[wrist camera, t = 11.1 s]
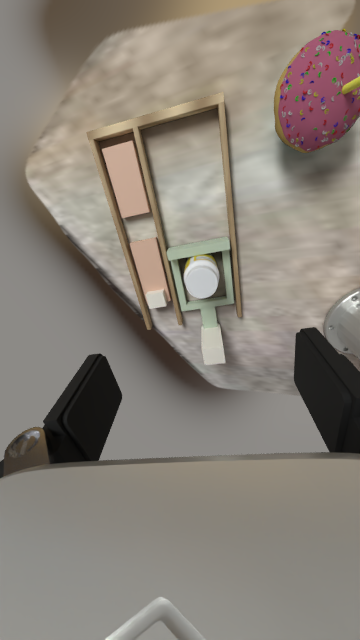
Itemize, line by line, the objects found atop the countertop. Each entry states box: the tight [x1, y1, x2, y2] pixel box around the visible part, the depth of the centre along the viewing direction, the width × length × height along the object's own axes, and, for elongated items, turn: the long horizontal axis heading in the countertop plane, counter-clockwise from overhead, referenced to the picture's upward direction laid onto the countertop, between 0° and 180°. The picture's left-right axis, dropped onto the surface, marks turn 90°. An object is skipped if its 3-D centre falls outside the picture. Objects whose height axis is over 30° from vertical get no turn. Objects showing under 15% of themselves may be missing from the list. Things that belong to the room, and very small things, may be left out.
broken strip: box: [102, 141, 171, 309], centre depth 33 cm, size 4×22×2 cm, turn 11°
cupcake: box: [274, 29, 360, 153], centre depth 21 cm, size 9×8×12 cm
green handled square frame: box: [167, 237, 234, 365], centre depth 34 cm, size 9×17×7 cm, turn 11°
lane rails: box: [86, 92, 242, 330], centre depth 33 cm, size 16×28×2 cm, turn 11°
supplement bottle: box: [184, 253, 219, 299], centre depth 32 cm, size 5×5×8 cm
